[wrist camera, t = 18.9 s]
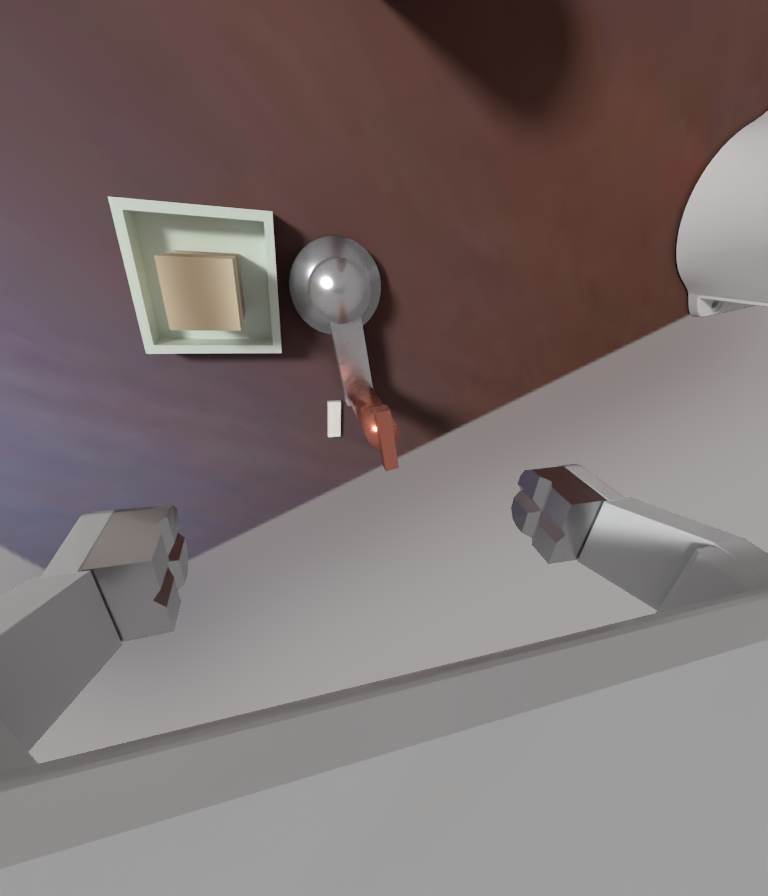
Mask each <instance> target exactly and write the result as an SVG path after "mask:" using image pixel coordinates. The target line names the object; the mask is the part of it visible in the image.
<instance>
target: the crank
mask: <svg viewBox="0 0 768 896" xmlns="http://www.w3.org/2000/svg"><path fill="white" fill-rule="evenodd" d="M308 293H309V297H310V300H311V302H312V304H313V305H314V307H315V309H316V310H317V311H318V313H319V314H320V315H321V316H322V317H324V318H325V319H327V320H328V323H329V328H330V333H331V337H332V342H333V347H334V351H335V356H336V361H337V365H338V370H339V375H340V380H341V384H342V389H343V394H344V398H345V401H346V404H347V406H352V408H353V410H354V412H355V414H356V416H357V418H358V420H359V422H360V424H361V427H362V429H363V431H364V433H365V435H366V437H367V439H368V441H369V443H370V445H371V446H372V447H373V448H375V449H377V450H380V453H381V459H382V464H383V466H384V468H385V470H386V471H388V470H392V469H396V468H398V460H397V453H396V446H395V445H396V444H397V442H398V441H399V438H400V429H399V427H398V425H397V424H396V422H395V421H394V419H393V418H392V417H391V411H390V409H389V407H388V406H387V404H385V405H383V403H382V402H381V400H380V399H379V397H378V396H377V394H376V393H375V391H374V390H373V386H372V380H371V374H370V368H369V362H368V356H367V349H366V343H365V337H364V331H363V325H362V319H361V315H362V314H363V313H364V311H365V310H366V308H367V306H368V304H369V301H370V296H371V287H370V282H369V279H368V277H367V275H366V273H365V271H364V270H363V269H362V268H361V267H360V266H359V265H358V264H357V263H355V262H354V261H352V260H349V259H346V258H343V257H336V256H335V257H329V258H326V259H324V260H322V261H320V262H319V263H318V264H317V265H316V266H315V267H314V269H313V270H312V272H311V274H310V277H309V281H308Z"/></svg>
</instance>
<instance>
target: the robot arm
mask: <svg viewBox="0 0 768 896" xmlns="http://www.w3.org/2000/svg"><path fill="white" fill-rule="evenodd" d="M676 260H677V267H678V271H679V274H680V277H681V279H682V281H683V282H684V284H685V286H686V288H687V290H688V305H689V312H690V315H691V316H695V317H706V316H711V315H715V314H720V313H724V312H728V311H733V310H737V309H742V308H746V307H751V306H755V305H757V306H765V307H768V111H767V112H766V113H764V114H763V115H762V116H761V117H759V118H758V119H757V120H755V121H754V122H752V123H750V124H749V125H747V126H746V127H744V128H743V129H742V130H740V131H739V132H738V133H737V134H736V135H734V136H733V137H732V138H731V139H730V140H729V141H728V142H727V143H726V144H725V145H724V146H723V147H722V148H721V150H720V151H719V152H718V153H717V154H716V156H715V157H714V158H713V159H712V161H711V162H710V163H709V165H708V166H707V168H706V169H705V171H704V172H703V174H702V175H701V177H700V179H699V181H698V182H697V184H696V186H695V188H694V190H693V192H692V194H691V196H690V198H689V201H688V203H687V205H686V208H685V211H684V214H683V217H682V220H681V224H680V228H679V232H678V238H677V247H676ZM518 485H519V487H520V489H521V491H520V492H519V493H518V494H517V495H516V496H515V497H514V500H513V504H512V508H511V509H512V516H513V520H514V522H515V524H516V526H517V527H518V529H519V530H520V531H521V532H522V533H524V534H526V535H528V536H530V537H531V538H532V545H533V546H534V547H535V549H536V550H537V551H538V552H539V553H540V555H541V556H542V557H543V558H544V559H545V560H546V562H547V563H548V564H550V563H556V562H564V561H571V560H577V559H578V562H580V563H581V564H583V565H585V566H586V567H588V568H590V569H591V570H593V571H594V572H596V573H598V574H599V575H601V576H602V577H604V578H606V579H607V580H609V581H610V582H612V583H614V584H615V585H617V586H619V587H620V588H622V589H623V590H625V591H627V592H628V593H630V594H631V595H633V596H635V597H636V598H638V599H640V600H641V601H643V602H645V603H646V604H648V605H649V606H651V607H652V608H654V609H656V610H657V612H656V613H655V614H651V615H647V616H643V617H639V618H635V619H631V620H627V621H623V622H619V623H615V624H610V625H606V626H602V627H598V628H594V629H590V630H586V631H582V632H578V633H574V634H570V635H566V636H562V637H557V638H554V639H549V640H545V641H541V642H537V643H533V644H529V645H525V646H521V647H517V648H513V649H509V650H504V651H501V652H496V653H492V654H489V655H484V656H480V657H476V658H472V659H468V660H464V661H459V662H455V663H452V664H447V665H443V666H439V667H435V668H431V669H427V670H422V671H418V672H414V673H410V674H406V675H402V676H398V677H393V678H389V679H386V680H381V681H377V682H373V683H369V684H365V685H360V686H357V687H353V688H348V689H344V690H340V691H336V692H332V693H328V694H324V695H320V696H315V697H311V698H307V699H303V700H300V701H295V702H291V703H287V704H283V705H278V706H275V707H270V708H266V709H262V710H258V711H254V712H250V713H246V714H241V715H237V716H233V717H229V718H225V719H221V720H217V721H213V722H209V723H205V724H200V725H196V726H193V727H188V728H184V729H180V730H176V731H172V732H168V733H164V734H160V735H155V736H152V737H148V738H143V739H139V740H135V741H131V742H127V743H123V744H118V745H115V746H110V747H106V748H102V749H98V750H94V751H90V752H86V753H81V754H77V755H73V756H70V757H65V758H61V759H57V760H53V761H49V762H45V763H41V764H38V763H37V762H36V761H35V760H34V758H33V757H32V756H31V754H29V752H28V751H29V750H30V749H31V748H32V747H33V746H34V744H35V743H36V742H37V741H38V740H39V739H40V738H41V737H42V735H43V734H44V733H45V732H46V731H47V730H48V729H49V727H50V726H51V725H52V724H53V723H54V722H55V721H56V720H57V718H58V717H59V716H60V715H61V714H62V713H63V712H64V710H65V709H66V708H67V707H68V706H69V705H70V704H71V702H72V701H73V700H74V699H75V698H76V697H77V696H78V694H79V693H80V692H81V691H82V690H83V689H84V688H85V687H86V685H87V684H88V683H89V682H90V681H91V680H92V678H93V677H94V676H95V675H96V674H97V673H98V672H99V671H100V669H101V668H102V667H103V666H104V665H105V664H106V663H107V661H108V660H109V659H110V658H111V657H112V656H113V655H114V653H115V652H116V651H117V650H118V649H119V648H120V647H121V646H122V642H124V641H129V640H133V639H139V638H144V637H148V636H153V635H158V634H163V633H168V632H173V631H174V629H175V625H176V620H177V616H178V612H179V608H180V603H181V600H180V597H179V593H178V589H180V588H181V587H182V586H183V585H184V584H185V581H186V576H187V571H188V552H187V545H186V541H185V538H184V537H183V536H182V535H180V534H179V533H177V532H178V529H179V525H180V522H181V521H180V517H179V514H178V510H177V508H176V507H175V506H174V505H167V506H155V507H142V508H130V509H118V510H107V511H97V512H88V513H86V514H84V515H82V516H81V517H80V518H79V519H78V521H77V522H76V524H75V525H74V527H73V528H72V530H71V532H70V533H69V535H68V536H67V538H66V539H65V541H64V542H63V544H62V545H61V547H60V548H59V550H58V551H57V553H56V554H55V556H54V557H53V559H52V561H51V562H50V564H49V565H48V567H47V568H46V570H45V571H44V573H43V574H42V576H41V577H37V578H30V579H28V580H27V581H25V582H24V583H22V584H21V585H19V586H17V587H16V588H14V589H13V590H11V591H10V592H8V593H6V594H5V595H3V596H2V597H0V896H768V553H766V552H765V551H763V550H762V549H760V548H759V547H757V546H755V545H754V544H752V543H751V542H749V541H748V540H746V539H745V538H742V537H739V536H736V535H733V534H730V533H728V532H725V531H722V530H720V529H716V528H714V527H711V526H708V525H706V524H703V523H700V522H697V521H694V520H692V519H688V518H686V517H683V516H680V515H678V514H675V513H672V512H669V511H667V510H664V509H661V508H658V507H655V506H653V505H650V504H647V503H644V502H641V501H639V500H636V499H633V498H625V497H623V496H622V495H621V494H619V493H618V492H617V491H615V490H614V489H613V488H611V487H610V486H608V485H607V484H606V483H605V482H603V481H602V480H600V479H599V478H597V477H596V476H595V475H594V474H592V473H591V472H590V471H588V470H587V469H585V468H584V467H583V466H581V465H577V464H570V465H563V466H558V467H551V468H542V469H533V470H525V471H524V472H523V473H522V475H521V476H520V479H519V482H518Z"/></svg>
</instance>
